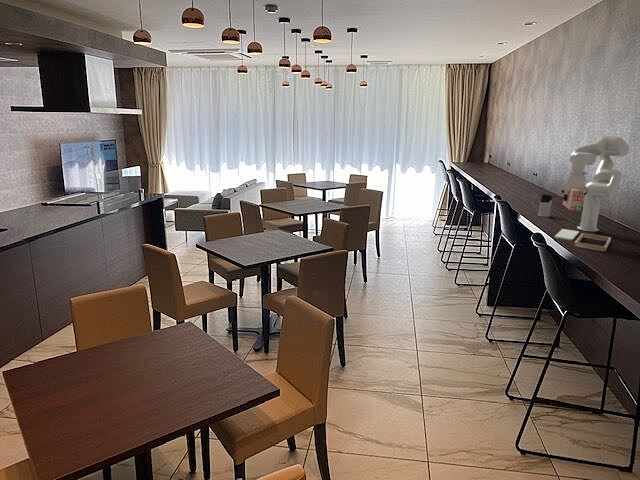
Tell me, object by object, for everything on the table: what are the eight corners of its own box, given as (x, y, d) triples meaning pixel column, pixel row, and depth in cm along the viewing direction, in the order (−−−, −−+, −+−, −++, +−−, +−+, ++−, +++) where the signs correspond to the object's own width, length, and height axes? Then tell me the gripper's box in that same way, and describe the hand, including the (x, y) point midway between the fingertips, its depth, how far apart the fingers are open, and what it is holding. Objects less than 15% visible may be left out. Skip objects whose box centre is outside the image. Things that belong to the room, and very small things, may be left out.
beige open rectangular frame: (581, 237, 312) (582, 233, 311) (610, 241, 303) (611, 237, 302) (573, 246, 289) (574, 242, 288) (604, 251, 280) (605, 247, 279)
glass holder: (549, 217, 369) (552, 197, 365) (528, 214, 377) (531, 194, 373) (551, 215, 376) (554, 195, 373) (531, 212, 384) (534, 193, 380)
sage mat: (562, 230, 328) (562, 228, 328) (578, 232, 323) (579, 231, 322) (554, 237, 307) (554, 236, 307) (572, 240, 302) (572, 239, 302)
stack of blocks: (561, 204, 322) (565, 185, 318) (572, 205, 320) (576, 186, 317) (569, 210, 301) (573, 189, 298) (580, 211, 300) (584, 190, 297)
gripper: (593, 174, 303) (588, 203, 308) (562, 171, 313) (558, 199, 317) (592, 175, 297) (587, 204, 302) (560, 172, 307) (556, 200, 311)
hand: (572, 201), depth 309 cm, fingers closed on stack of blocks, 7 cm apart
